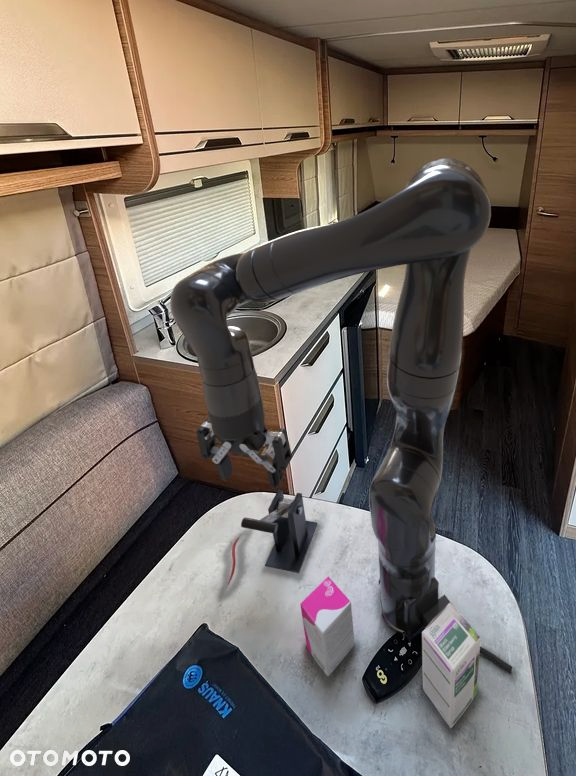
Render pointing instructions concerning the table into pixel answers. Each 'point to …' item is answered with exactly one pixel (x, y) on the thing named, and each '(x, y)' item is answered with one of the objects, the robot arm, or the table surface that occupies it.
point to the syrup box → (450, 663)
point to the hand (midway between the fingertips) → (251, 480)
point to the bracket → (290, 535)
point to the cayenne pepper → (233, 560)
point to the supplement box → (328, 625)
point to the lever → (269, 518)
